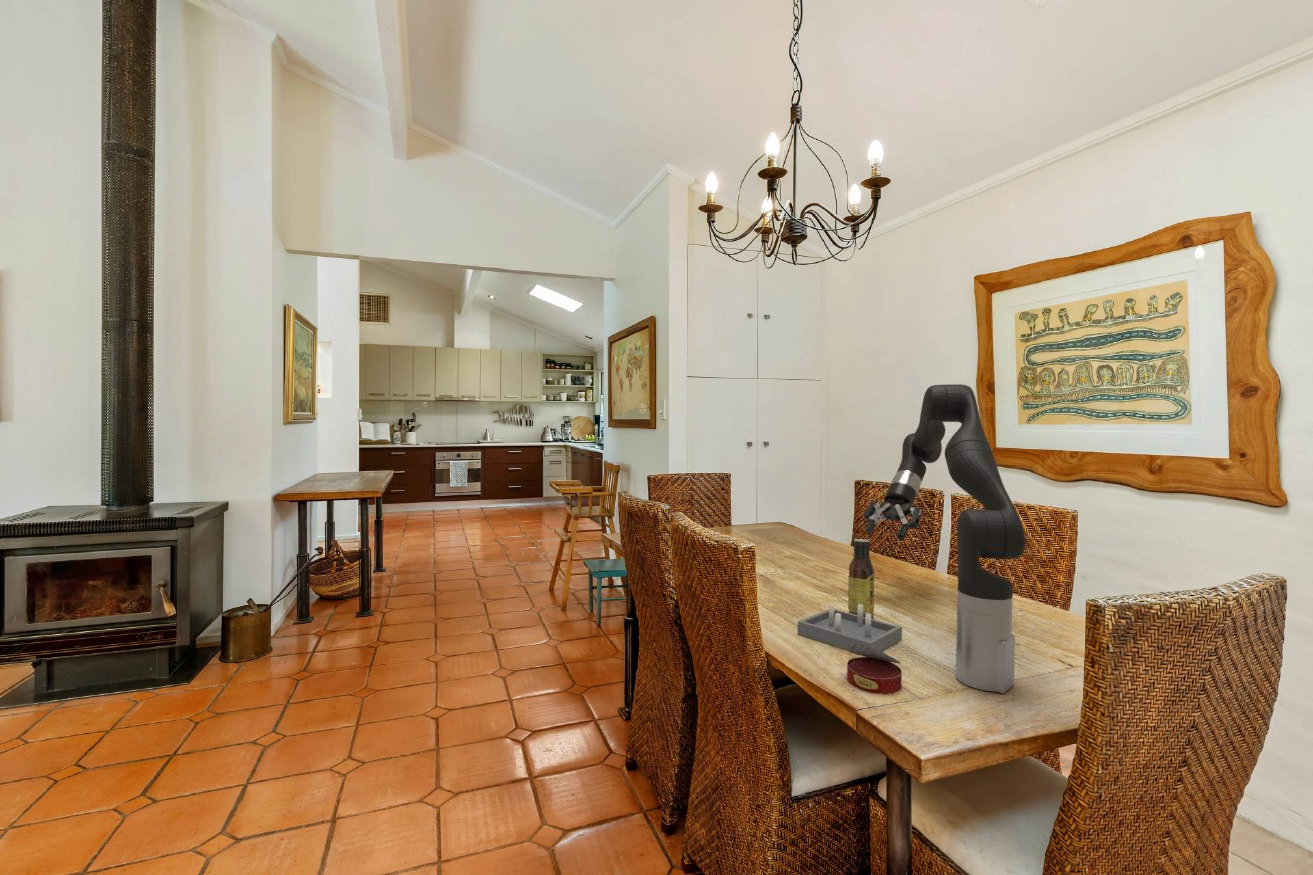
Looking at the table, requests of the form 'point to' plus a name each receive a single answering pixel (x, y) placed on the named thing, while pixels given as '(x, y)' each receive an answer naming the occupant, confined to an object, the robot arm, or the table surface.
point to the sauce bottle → (861, 579)
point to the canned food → (873, 670)
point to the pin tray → (849, 629)
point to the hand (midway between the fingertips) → (883, 535)
